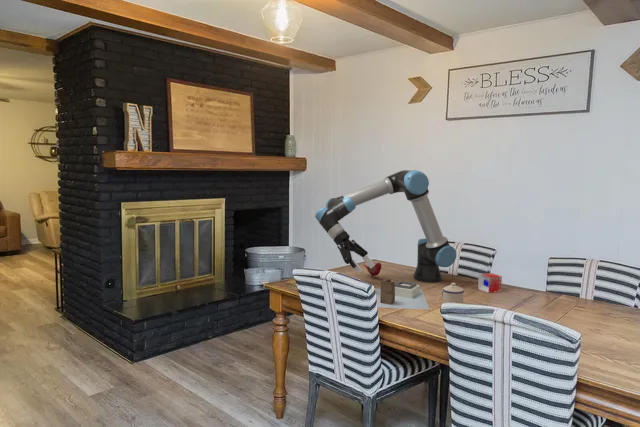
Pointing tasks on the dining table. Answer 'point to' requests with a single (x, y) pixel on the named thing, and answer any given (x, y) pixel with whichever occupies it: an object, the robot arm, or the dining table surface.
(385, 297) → the walnut pillar
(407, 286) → the base brick
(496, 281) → the puzzle cube
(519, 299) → the dining table surface
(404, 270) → the dining table surface
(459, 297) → the teacup with lid
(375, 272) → the decorative bird figurine
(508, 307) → the dining table surface
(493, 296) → the dining table surface
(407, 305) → the mat
